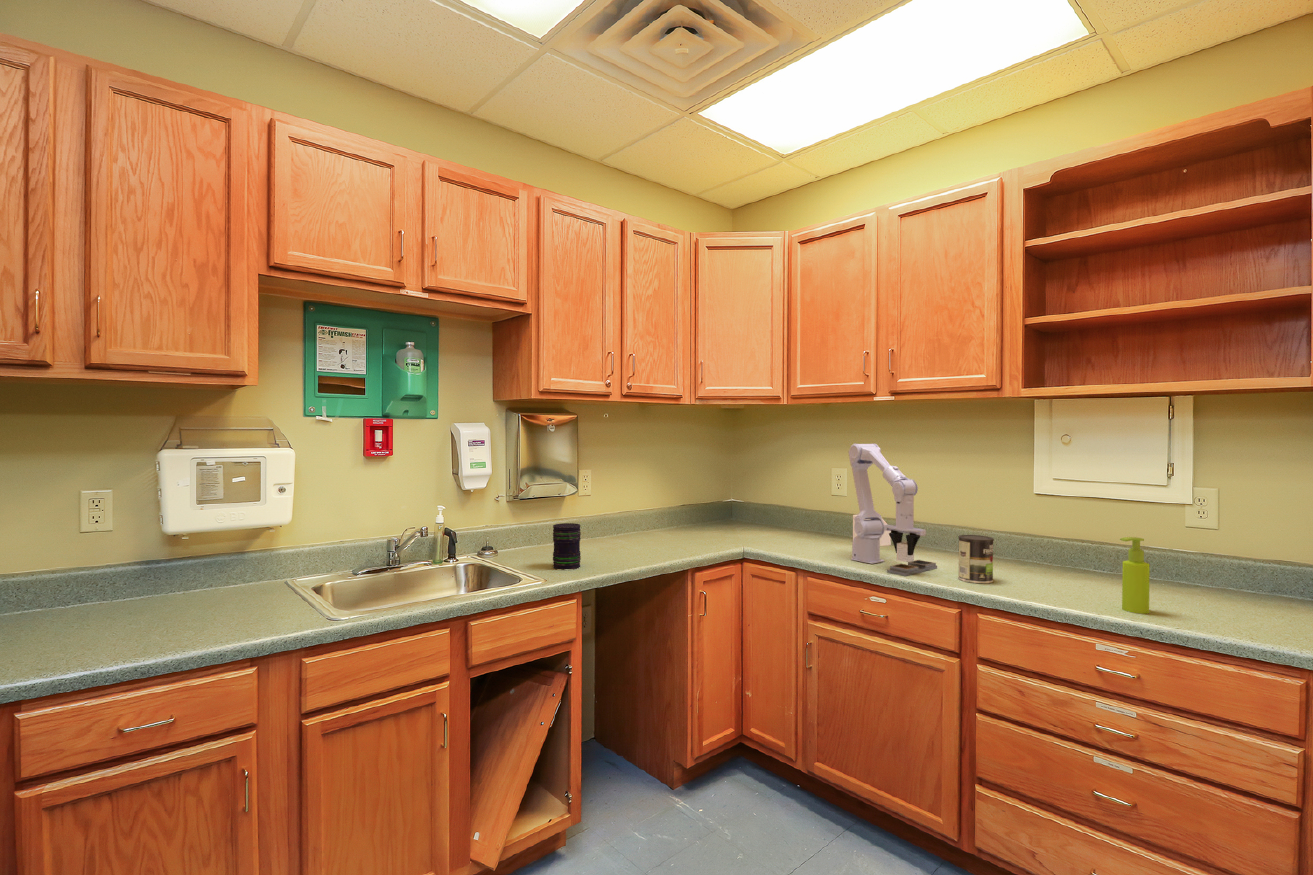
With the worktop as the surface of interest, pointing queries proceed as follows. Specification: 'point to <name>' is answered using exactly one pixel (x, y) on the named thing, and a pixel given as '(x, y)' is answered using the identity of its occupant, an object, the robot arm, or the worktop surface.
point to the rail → (912, 567)
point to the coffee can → (976, 559)
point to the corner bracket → (884, 538)
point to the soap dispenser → (1135, 579)
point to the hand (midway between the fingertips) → (904, 553)
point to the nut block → (903, 552)
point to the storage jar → (566, 546)
